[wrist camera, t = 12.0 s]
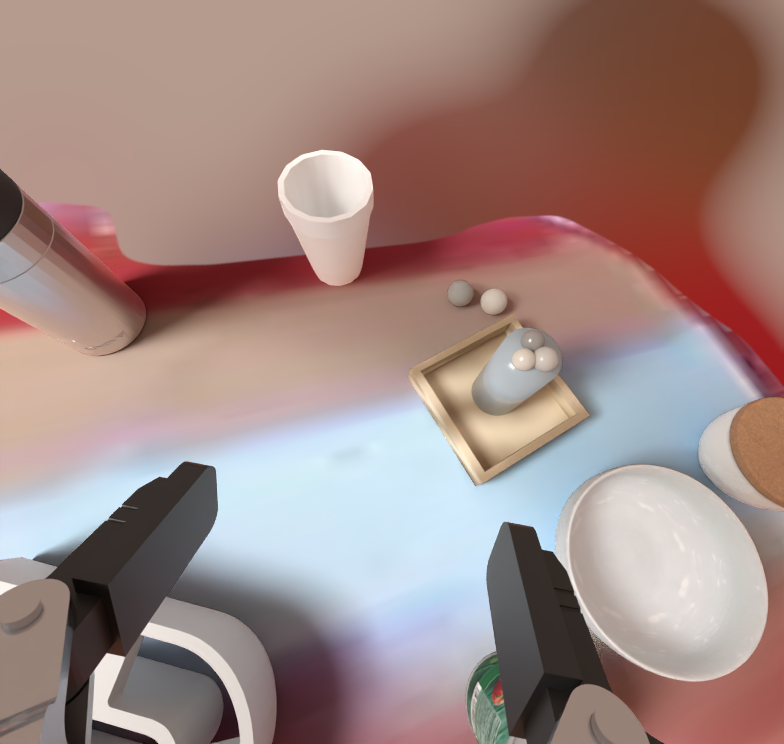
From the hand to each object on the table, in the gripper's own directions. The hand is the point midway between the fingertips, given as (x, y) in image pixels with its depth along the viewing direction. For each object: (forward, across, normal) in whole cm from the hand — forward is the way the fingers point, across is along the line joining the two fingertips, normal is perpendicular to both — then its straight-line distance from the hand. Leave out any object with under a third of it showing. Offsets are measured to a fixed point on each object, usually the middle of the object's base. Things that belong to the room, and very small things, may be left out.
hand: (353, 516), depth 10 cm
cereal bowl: (+22, -26, +21) cm, 40 cm away
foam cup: (+42, +10, +1) cm, 44 cm away
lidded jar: (+30, -38, +13) cm, 51 cm away
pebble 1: (+41, -6, +2) cm, 41 cm away
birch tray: (+32, -11, +11) cm, 36 cm away
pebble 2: (+41, -10, +3) cm, 42 cm away
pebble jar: (+32, -12, +10) cm, 35 cm away
